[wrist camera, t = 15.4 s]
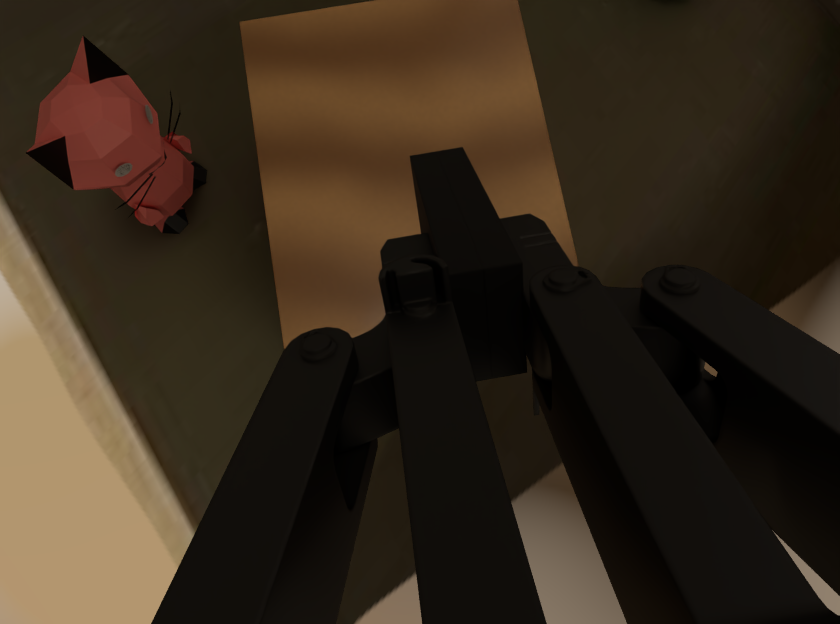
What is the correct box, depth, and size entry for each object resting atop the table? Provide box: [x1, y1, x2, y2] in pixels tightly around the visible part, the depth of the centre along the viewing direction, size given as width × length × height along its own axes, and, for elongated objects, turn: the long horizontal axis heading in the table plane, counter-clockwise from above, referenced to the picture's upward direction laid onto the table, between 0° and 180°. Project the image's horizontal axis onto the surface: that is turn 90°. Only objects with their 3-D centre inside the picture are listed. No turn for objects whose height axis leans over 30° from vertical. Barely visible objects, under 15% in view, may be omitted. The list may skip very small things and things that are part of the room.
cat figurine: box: [26, 36, 207, 234], centre depth 32 cm, size 7×7×12 cm
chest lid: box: [240, 0, 579, 349], centre depth 29 cm, size 17×14×1 cm
